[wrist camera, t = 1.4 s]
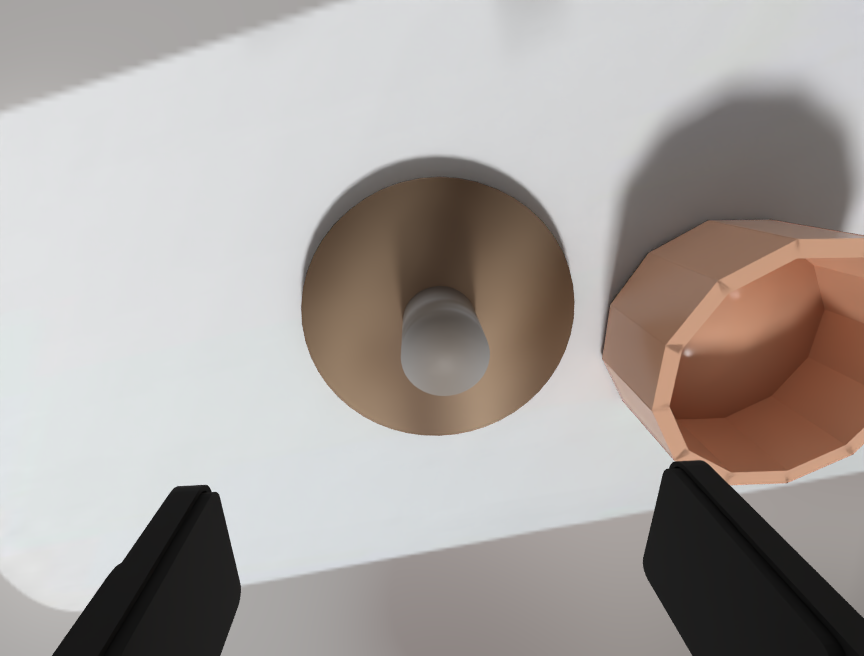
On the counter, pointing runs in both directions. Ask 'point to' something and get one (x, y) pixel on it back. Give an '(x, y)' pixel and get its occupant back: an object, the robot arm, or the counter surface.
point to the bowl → (746, 347)
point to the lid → (437, 306)
